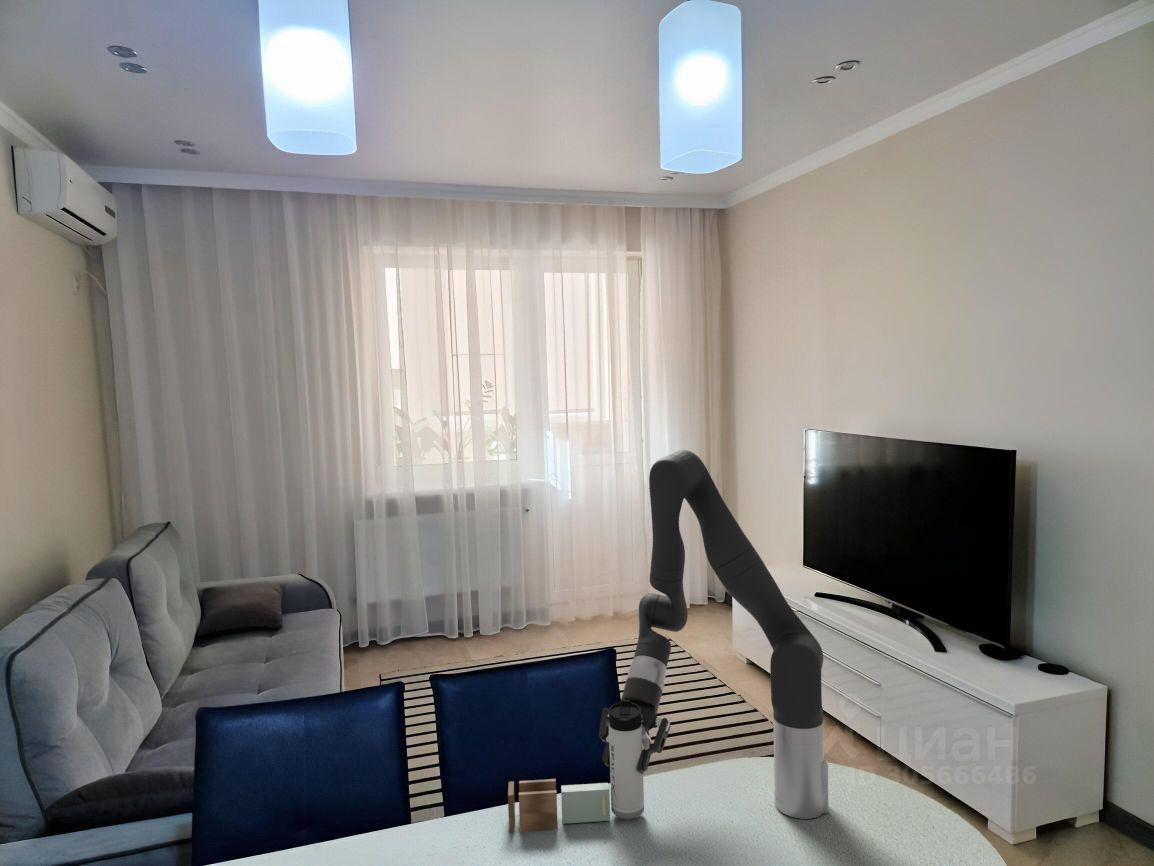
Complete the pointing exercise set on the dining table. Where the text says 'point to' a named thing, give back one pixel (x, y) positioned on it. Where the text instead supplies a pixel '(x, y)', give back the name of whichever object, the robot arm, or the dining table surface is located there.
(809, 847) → the dining table surface
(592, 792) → the pale green box
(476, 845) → the dining table surface
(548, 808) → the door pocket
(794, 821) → the dining table surface
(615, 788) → the travel mug
